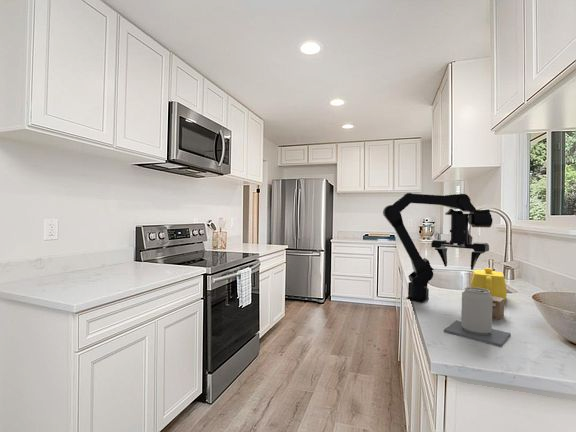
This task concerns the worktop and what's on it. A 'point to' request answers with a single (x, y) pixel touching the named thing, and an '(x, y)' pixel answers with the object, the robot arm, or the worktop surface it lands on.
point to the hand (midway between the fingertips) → (458, 268)
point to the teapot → (490, 282)
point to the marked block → (497, 308)
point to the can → (477, 310)
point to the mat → (491, 338)
